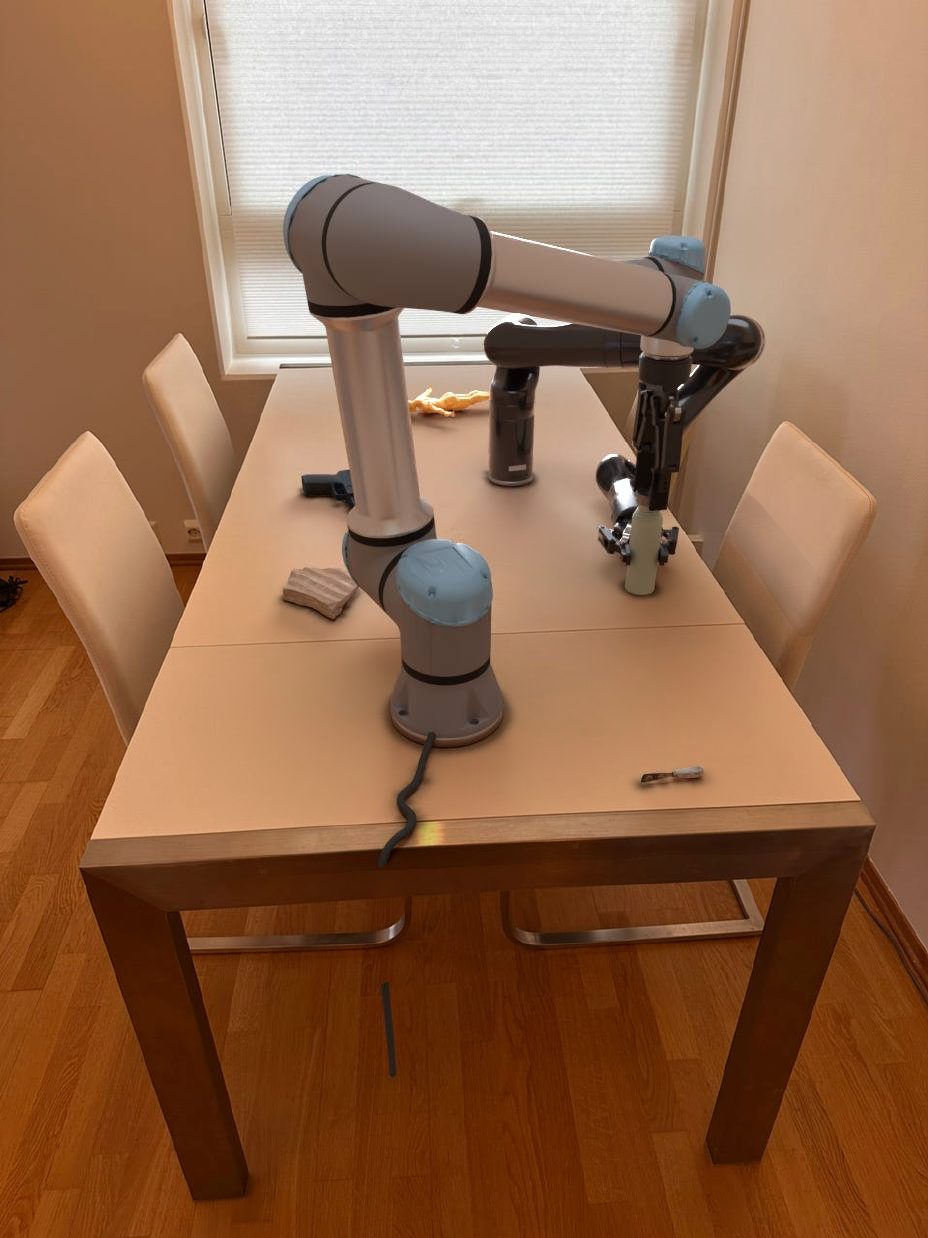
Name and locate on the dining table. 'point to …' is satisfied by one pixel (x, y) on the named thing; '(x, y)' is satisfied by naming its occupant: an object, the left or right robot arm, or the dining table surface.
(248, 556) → the dining table surface
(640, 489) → the cap
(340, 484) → the handgun
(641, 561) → the bottle
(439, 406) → the human figure
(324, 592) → the stone
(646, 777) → the putty knife
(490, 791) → the dining table surface
